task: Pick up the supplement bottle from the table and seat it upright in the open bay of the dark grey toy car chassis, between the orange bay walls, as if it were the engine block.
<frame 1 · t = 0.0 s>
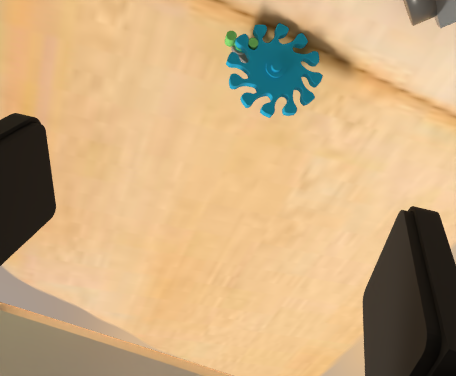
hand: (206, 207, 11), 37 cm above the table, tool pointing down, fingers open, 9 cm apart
gear: (276, 58, 45), on the table
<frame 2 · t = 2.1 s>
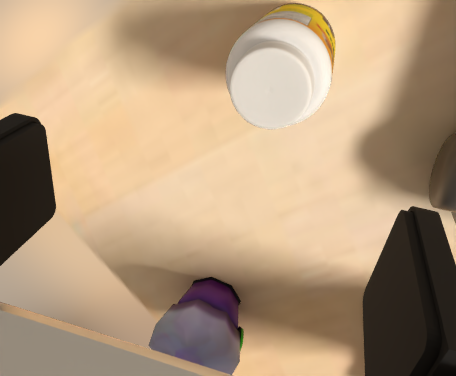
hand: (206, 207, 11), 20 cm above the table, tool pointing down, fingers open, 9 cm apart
supplement bottle: (294, 45, 28), on the table
potion bottle: (214, 296, 42), on the table
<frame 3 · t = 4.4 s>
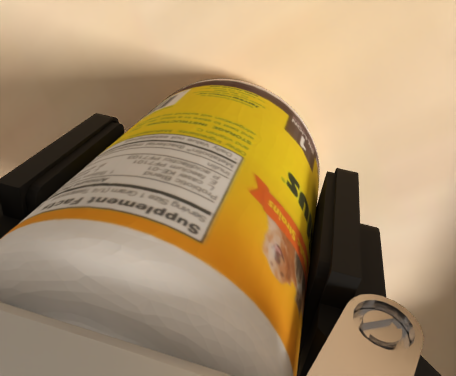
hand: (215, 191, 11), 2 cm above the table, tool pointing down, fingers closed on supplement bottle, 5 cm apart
supplement bottle: (234, 155, 13), on the table, touching gripper
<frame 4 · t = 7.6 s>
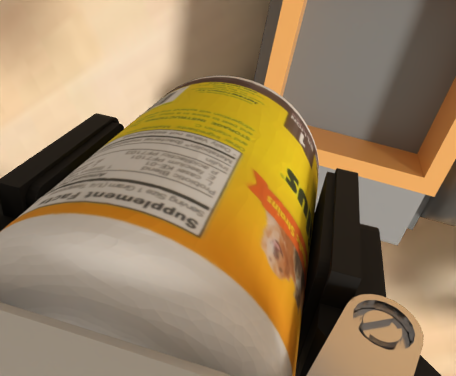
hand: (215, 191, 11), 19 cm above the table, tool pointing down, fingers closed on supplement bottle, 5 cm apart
supplement bottle: (234, 153, 13), point 17 cm above the table, touching gripper
chassis: (369, 51, 26), on the table
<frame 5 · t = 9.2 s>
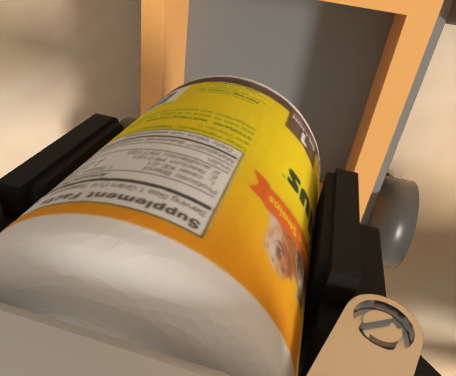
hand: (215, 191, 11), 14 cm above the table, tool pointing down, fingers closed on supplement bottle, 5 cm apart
supplement bottle: (235, 153, 13), point 11 cm above the table, touching gripper
chassis: (281, 69, 23), on the table
when the fingers open (7 cm above the table, at t = 10.8 s): supplement bottle drops 1 cm, resting on chassis.
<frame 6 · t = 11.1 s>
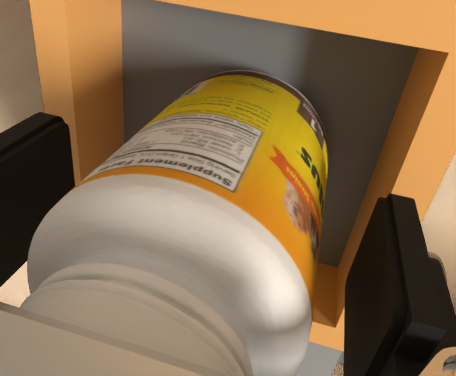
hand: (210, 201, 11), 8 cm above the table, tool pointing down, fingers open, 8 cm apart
supplement bottle: (250, 142, 14), point 3 cm above the table, touching chassis
chassis: (261, 105, 17), on the table
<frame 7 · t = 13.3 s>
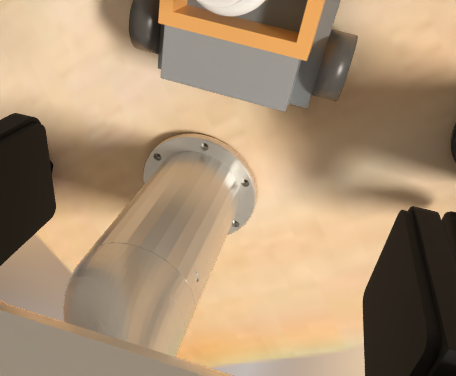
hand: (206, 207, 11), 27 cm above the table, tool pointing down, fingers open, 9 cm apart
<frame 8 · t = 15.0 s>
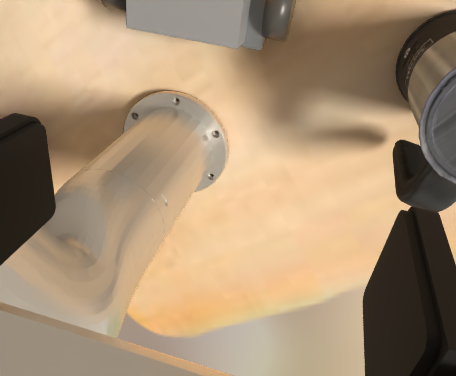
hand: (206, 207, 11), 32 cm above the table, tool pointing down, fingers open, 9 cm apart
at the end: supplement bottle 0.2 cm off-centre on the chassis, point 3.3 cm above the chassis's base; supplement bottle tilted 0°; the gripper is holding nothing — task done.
